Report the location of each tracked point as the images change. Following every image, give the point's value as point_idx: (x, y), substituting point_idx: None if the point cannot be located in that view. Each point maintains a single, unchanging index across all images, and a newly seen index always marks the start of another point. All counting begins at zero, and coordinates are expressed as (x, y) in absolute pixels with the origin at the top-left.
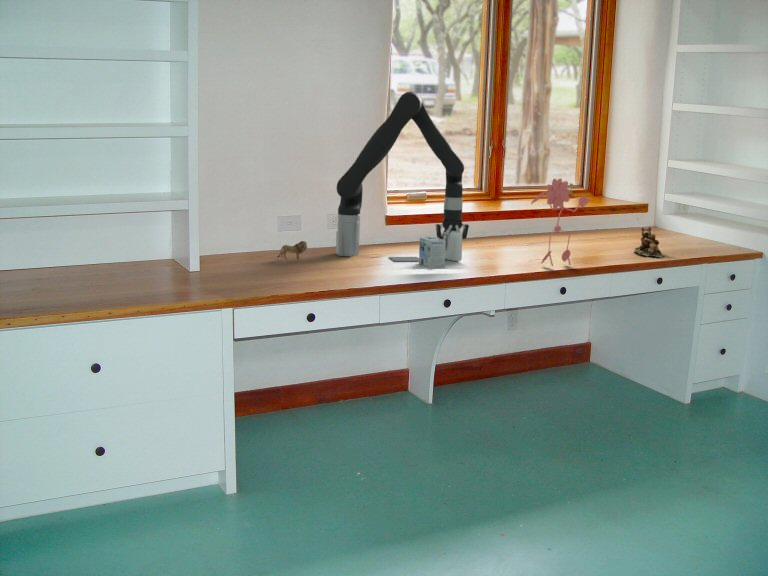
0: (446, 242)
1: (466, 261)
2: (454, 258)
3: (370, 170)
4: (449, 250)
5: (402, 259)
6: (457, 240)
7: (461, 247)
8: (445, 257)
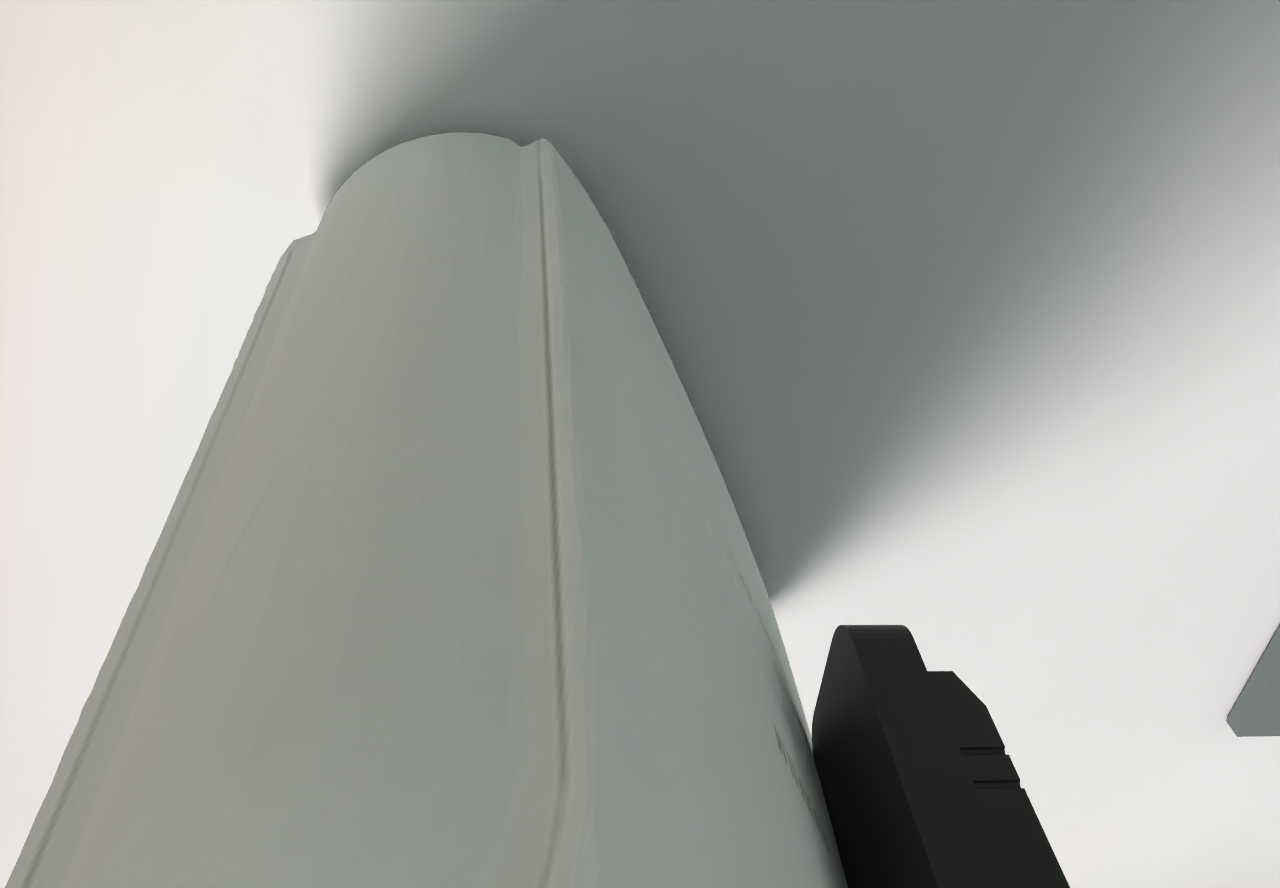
0: (833, 877)
1: (126, 160)
2: (577, 188)
3: None
4: (717, 518)
5: None
6: (469, 650)
7: (207, 485)
8: (728, 493)
